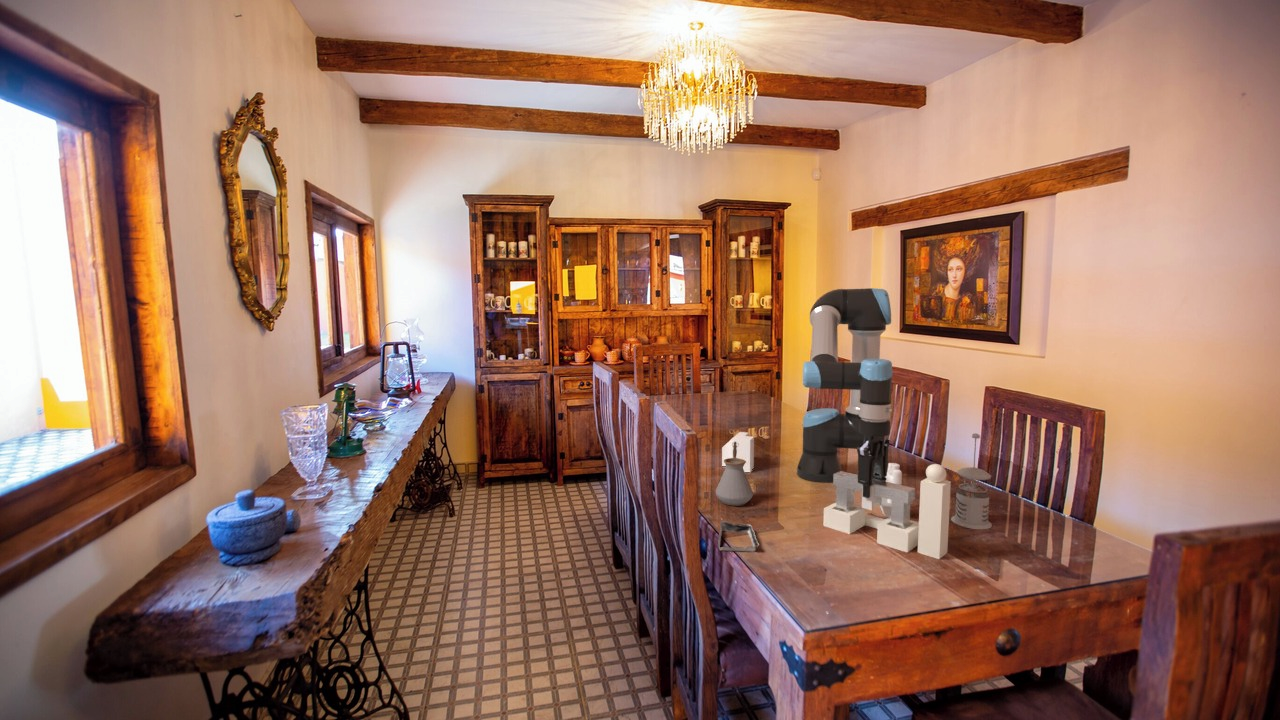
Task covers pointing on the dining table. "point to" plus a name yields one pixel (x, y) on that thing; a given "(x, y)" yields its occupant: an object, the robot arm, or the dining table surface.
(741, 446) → the corner bracket
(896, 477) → the figurine
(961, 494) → the french press
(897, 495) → the grey bench
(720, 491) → the grey vase
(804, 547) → the dining table surface
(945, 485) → the headboard post
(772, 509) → the dining table surface
